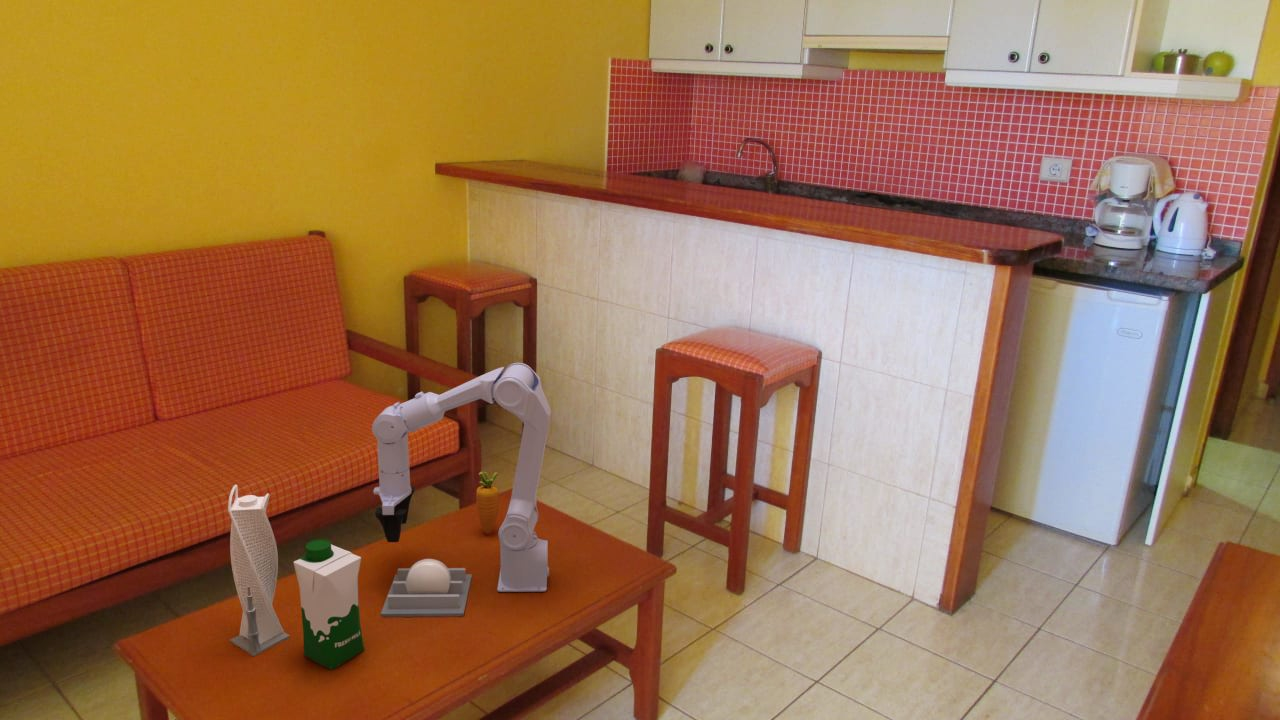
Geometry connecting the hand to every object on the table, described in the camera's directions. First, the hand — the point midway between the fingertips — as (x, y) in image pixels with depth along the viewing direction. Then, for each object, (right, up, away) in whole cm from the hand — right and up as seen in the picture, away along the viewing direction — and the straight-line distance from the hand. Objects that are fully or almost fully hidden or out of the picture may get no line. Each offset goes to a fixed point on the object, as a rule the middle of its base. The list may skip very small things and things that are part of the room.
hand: (397, 532), depth 176 cm
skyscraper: (-19, -15, -19) cm, 31 cm away
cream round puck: (+8, -11, -7) cm, 16 cm away
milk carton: (-5, -17, -23) cm, 28 cm away
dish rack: (+7, -11, -4) cm, 14 cm away
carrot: (+14, -5, +20) cm, 25 cm away
